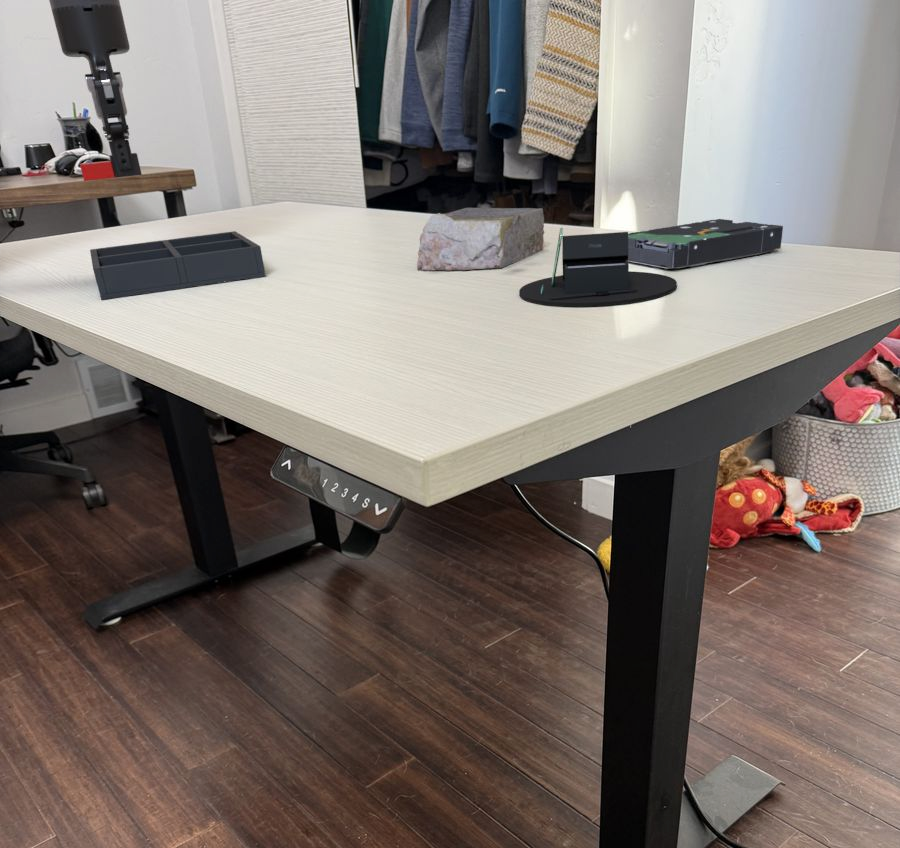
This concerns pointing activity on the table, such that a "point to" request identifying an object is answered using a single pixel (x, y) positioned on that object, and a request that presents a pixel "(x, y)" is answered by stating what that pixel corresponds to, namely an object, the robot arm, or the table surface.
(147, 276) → the tray
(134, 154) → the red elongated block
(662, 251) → the disk drive
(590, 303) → the black display stand
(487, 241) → the geological specimen
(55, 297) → the table surface
